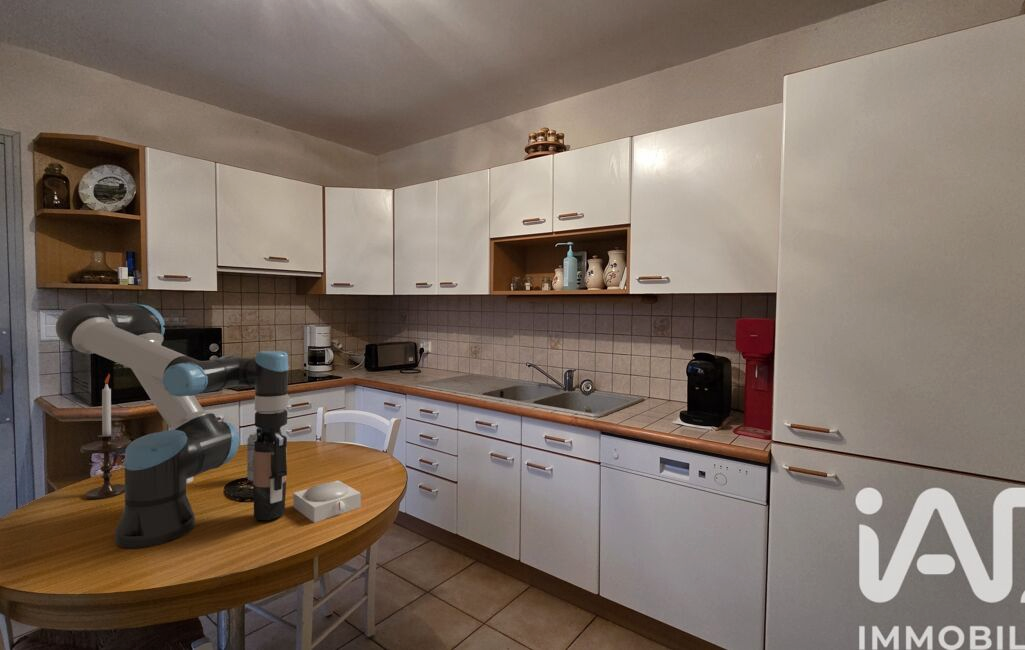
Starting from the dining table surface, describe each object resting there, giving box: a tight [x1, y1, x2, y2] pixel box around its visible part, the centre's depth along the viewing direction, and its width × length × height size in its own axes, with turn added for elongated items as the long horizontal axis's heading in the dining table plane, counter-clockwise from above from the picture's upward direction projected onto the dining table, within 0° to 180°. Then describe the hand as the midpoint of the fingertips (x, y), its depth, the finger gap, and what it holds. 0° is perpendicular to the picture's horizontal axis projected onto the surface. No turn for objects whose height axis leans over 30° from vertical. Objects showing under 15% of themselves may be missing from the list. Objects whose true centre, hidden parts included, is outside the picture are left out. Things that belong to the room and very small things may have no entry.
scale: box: [292, 480, 362, 524], centre depth 124 cm, size 13×14×5 cm
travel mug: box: [252, 434, 288, 521], centre depth 117 cm, size 8×8×20 cm
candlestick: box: [80, 374, 132, 501], centre depth 129 cm, size 11×11×35 cm
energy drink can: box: [246, 431, 257, 482], centre depth 142 cm, size 6×6×15 cm
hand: (269, 496), depth 117 cm, fingers closed on travel mug, 8 cm apart
